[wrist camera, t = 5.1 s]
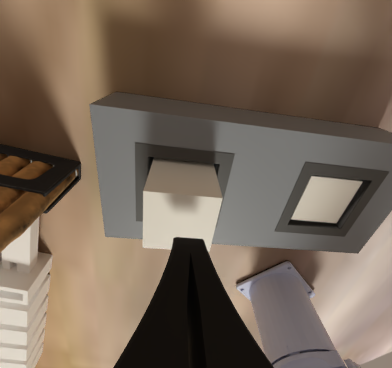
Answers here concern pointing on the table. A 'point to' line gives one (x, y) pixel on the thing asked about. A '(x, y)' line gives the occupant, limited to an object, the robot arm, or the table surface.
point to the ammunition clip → (30, 188)
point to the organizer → (23, 300)
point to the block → (242, 169)
